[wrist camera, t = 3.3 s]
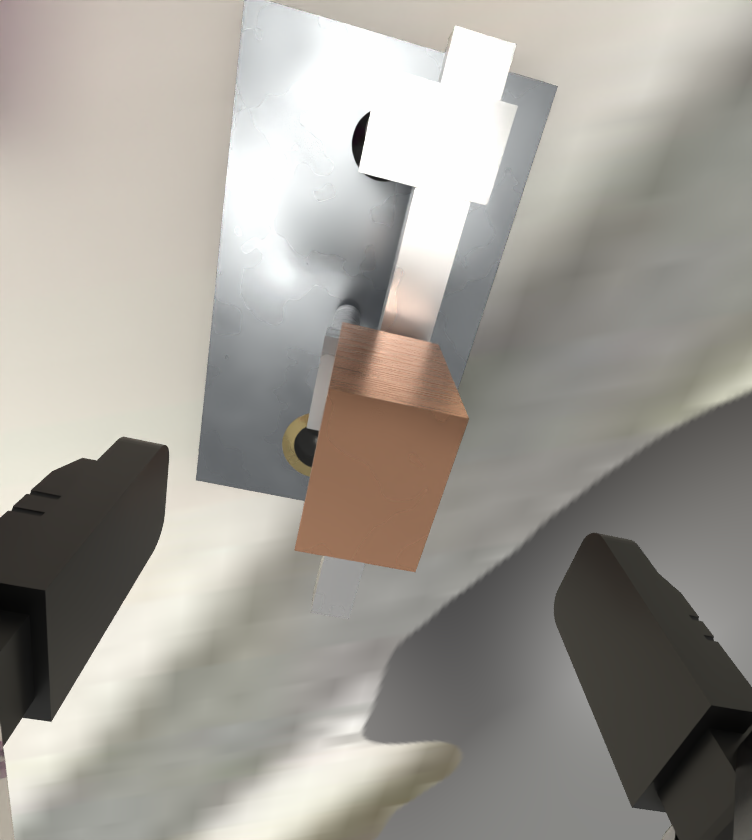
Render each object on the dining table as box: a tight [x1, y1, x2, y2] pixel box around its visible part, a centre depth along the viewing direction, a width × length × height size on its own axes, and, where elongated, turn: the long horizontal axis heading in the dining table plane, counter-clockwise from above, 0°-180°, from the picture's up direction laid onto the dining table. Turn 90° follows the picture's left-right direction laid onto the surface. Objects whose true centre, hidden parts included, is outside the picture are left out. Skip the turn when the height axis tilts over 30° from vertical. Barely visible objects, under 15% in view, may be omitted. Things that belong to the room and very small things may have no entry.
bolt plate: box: [196, 0, 558, 619], centre depth 20 cm, size 21×12×9 cm, turn 167°
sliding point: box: [295, 305, 469, 572], centre depth 17 cm, size 4×4×13 cm
